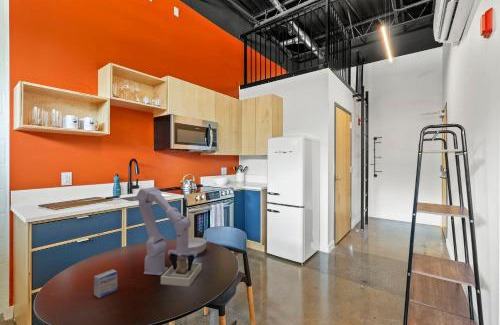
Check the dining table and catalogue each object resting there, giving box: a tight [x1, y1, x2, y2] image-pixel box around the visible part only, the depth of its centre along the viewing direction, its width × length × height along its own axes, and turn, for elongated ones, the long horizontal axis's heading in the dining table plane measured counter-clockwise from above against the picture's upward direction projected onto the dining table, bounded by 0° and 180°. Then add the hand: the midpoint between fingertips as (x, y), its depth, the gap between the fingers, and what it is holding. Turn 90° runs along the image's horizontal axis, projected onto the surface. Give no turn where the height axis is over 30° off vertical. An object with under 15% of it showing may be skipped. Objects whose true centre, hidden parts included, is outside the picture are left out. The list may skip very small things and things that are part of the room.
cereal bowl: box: [188, 237, 207, 255], centre depth 151 cm, size 17×17×7 cm
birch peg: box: [177, 257, 188, 274], centre depth 122 cm, size 4×4×8 cm
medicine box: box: [93, 269, 118, 299], centre depth 107 cm, size 8×4×9 cm, turn 148°
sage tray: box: [160, 260, 202, 288], centre depth 122 cm, size 14×17×4 cm
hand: (182, 269), depth 122 cm, fingers open, 7 cm apart
